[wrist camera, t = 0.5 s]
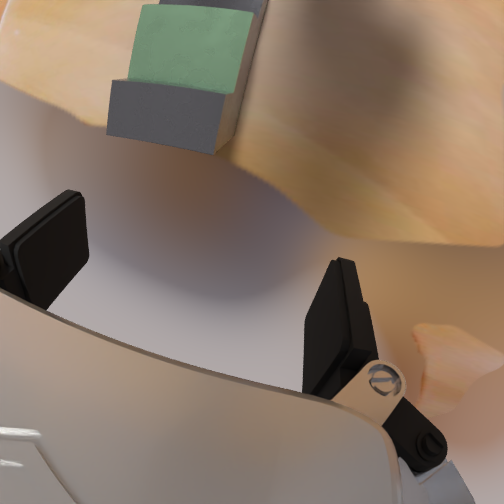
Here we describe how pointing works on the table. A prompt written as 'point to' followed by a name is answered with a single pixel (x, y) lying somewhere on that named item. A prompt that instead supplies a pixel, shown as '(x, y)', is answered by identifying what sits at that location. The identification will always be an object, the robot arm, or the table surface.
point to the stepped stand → (187, 73)
